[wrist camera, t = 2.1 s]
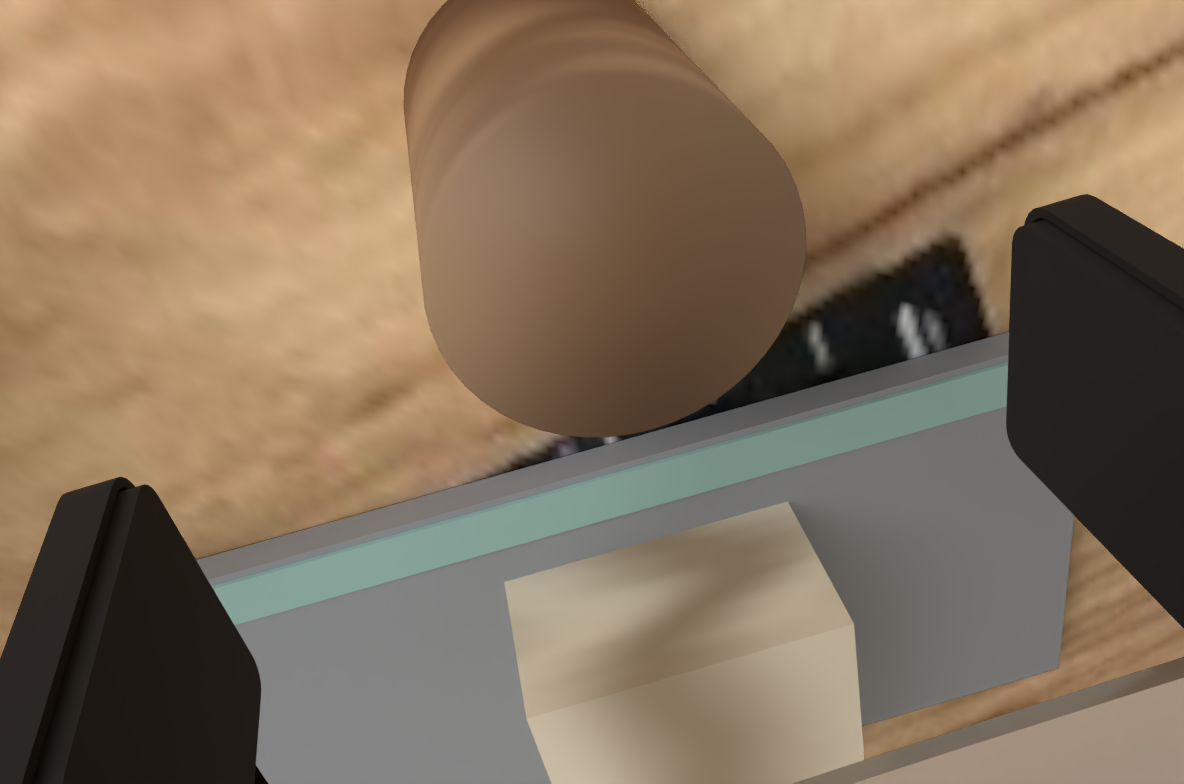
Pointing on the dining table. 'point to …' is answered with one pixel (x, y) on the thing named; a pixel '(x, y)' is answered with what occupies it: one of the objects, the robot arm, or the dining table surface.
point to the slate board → (639, 514)
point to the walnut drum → (592, 216)
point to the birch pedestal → (690, 659)
